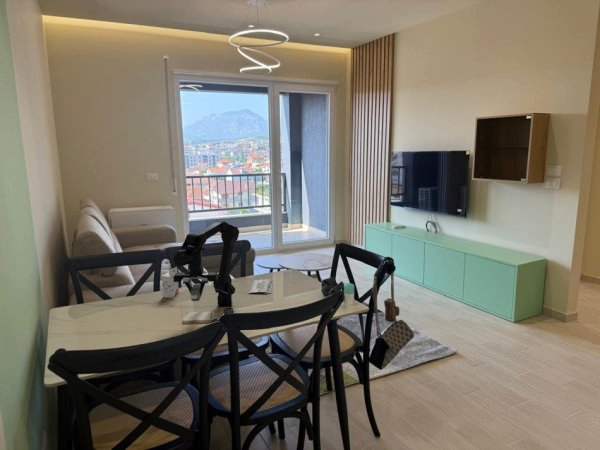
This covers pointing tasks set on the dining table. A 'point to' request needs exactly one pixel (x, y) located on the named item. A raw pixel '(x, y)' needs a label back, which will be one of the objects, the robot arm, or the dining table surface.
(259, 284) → the newspaper
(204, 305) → the dining table surface
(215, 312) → the dining table surface
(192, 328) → the dining table surface
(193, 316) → the oak board
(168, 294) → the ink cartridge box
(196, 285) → the connector
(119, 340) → the dining table surface
